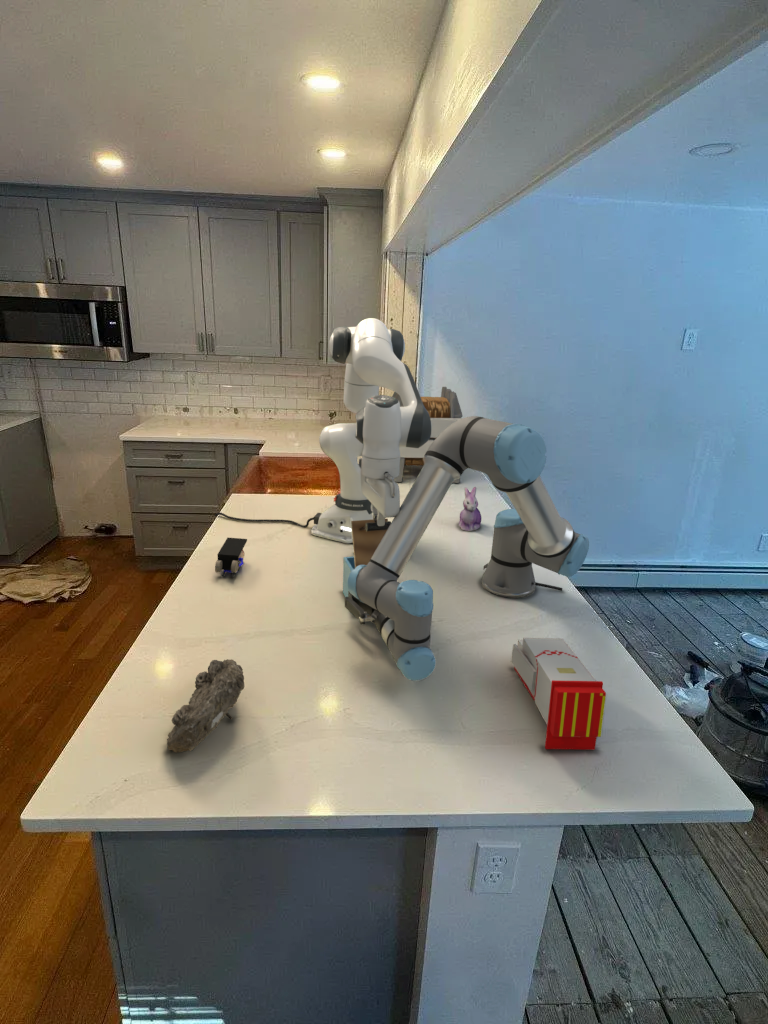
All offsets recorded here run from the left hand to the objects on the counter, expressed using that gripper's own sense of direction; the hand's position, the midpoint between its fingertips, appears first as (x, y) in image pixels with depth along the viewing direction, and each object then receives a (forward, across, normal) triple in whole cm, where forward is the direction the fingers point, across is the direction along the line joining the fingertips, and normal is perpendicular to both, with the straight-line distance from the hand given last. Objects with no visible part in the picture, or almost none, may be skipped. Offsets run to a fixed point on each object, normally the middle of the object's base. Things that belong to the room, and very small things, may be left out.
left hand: (378, 523), depth 136 cm
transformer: (+23, +126, -59) cm, 141 cm away
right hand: (+19, +6, 0) cm, 20 cm away
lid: (+9, +5, 0) cm, 10 cm away
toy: (+27, -40, -25) cm, 54 cm away
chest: (+26, +9, 0) cm, 27 cm away
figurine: (+25, +55, -52) cm, 80 cm away
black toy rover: (+25, +36, +33) cm, 56 cm away
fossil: (+27, -28, +40) cm, 56 cm away
